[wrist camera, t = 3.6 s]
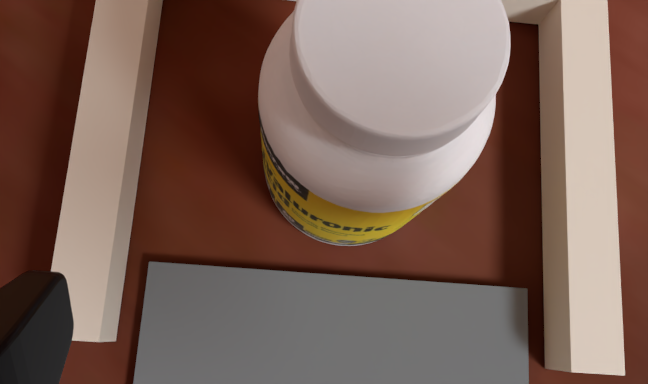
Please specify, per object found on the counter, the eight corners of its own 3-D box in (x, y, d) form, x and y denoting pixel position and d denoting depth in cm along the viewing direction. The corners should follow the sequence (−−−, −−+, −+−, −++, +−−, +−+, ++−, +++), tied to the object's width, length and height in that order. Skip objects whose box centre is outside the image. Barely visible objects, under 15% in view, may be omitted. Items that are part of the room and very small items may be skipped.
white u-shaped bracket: (593, 371, 19) (625, 375, 18) (62, 337, 18) (39, 338, 17) (580, -11, 22) (605, -40, 21) (124, -57, 22) (111, -91, 20)
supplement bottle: (229, 183, 20) (185, 47, 10) (328, 63, 21) (370, -158, 12) (363, 284, 20) (444, 238, 10) (455, 155, 21) (607, 5, 11)
